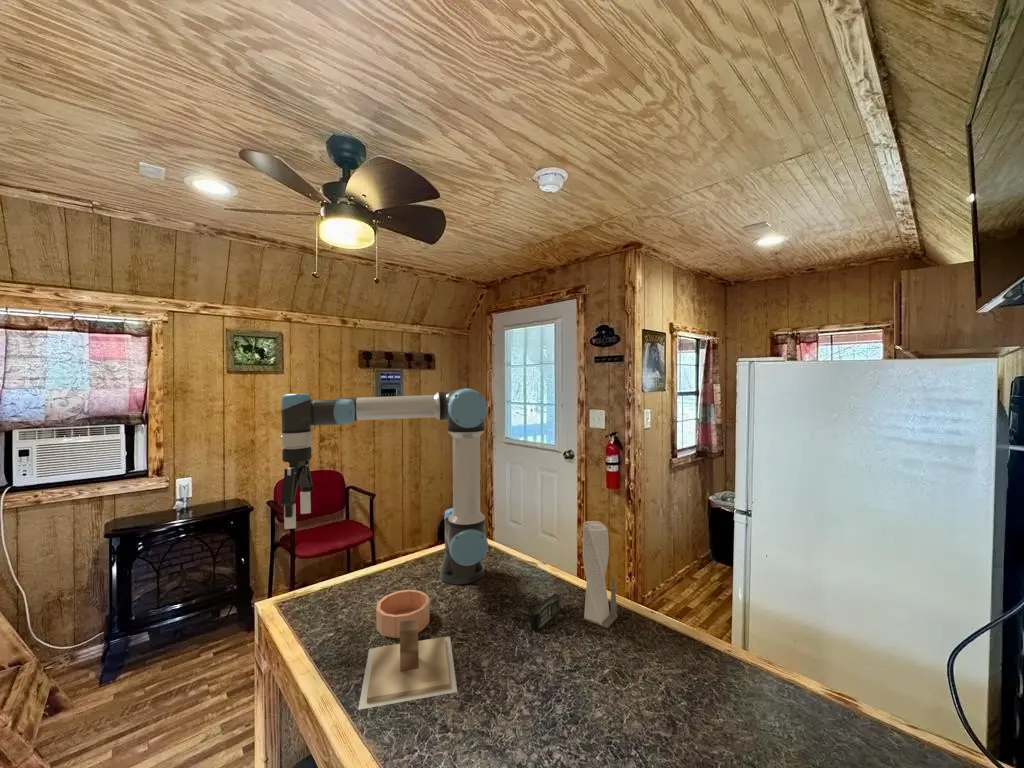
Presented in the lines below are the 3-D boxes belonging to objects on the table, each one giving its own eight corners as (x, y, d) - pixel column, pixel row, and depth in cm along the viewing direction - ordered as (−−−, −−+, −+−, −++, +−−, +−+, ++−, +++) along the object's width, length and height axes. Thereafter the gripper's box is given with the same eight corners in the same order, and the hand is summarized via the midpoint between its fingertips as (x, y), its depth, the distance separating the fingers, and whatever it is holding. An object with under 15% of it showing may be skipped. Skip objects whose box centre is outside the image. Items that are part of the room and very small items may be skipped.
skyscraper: (605, 630, 110) (603, 525, 110) (578, 620, 115) (576, 519, 115) (618, 616, 117) (616, 516, 117) (591, 607, 122) (590, 512, 122)
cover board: (444, 640, 106) (443, 601, 106) (449, 688, 90) (448, 641, 90) (374, 651, 103) (374, 611, 103) (366, 702, 86) (365, 654, 86)
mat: (450, 638, 108) (450, 636, 108) (457, 694, 89) (457, 691, 89) (369, 651, 104) (369, 648, 104) (358, 712, 84) (358, 709, 84)
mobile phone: (537, 615, 110) (564, 590, 122) (528, 612, 112) (555, 587, 124) (538, 634, 110) (565, 607, 122) (528, 630, 112) (556, 604, 124)
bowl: (428, 607, 124) (428, 587, 124) (430, 635, 110) (429, 612, 110) (379, 614, 120) (379, 593, 120) (374, 643, 107) (374, 620, 107)
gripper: (297, 441, 132) (298, 508, 132) (265, 454, 107) (266, 536, 107) (322, 440, 133) (323, 506, 133) (296, 453, 109) (298, 534, 109)
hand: (298, 520), depth 120 cm, fingers open, 13 cm apart
